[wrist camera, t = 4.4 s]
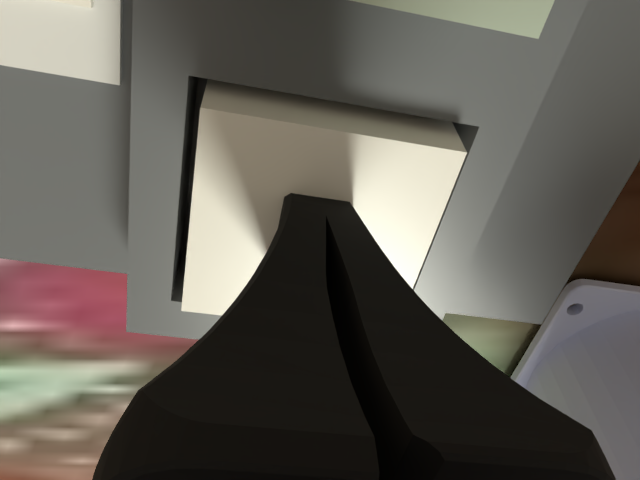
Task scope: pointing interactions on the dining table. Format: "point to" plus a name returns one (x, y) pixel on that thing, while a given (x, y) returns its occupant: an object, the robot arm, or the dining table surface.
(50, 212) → the keypad
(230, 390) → the robot arm
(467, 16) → the sage key
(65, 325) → the dining table surface
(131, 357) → the dining table surface
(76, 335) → the dining table surface
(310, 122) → the cream key
